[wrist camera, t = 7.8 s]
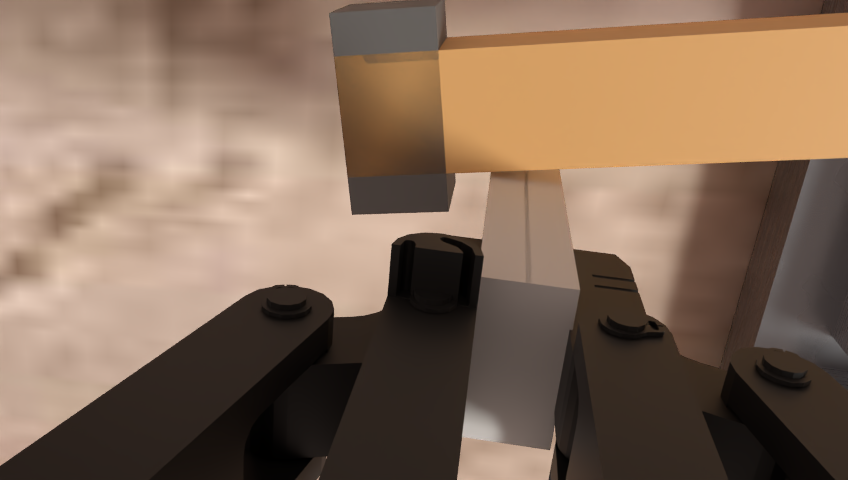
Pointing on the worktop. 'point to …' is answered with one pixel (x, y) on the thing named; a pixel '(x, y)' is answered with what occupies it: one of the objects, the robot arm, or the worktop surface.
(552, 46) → the bar
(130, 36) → the worktop surface
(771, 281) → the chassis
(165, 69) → the worktop surface
